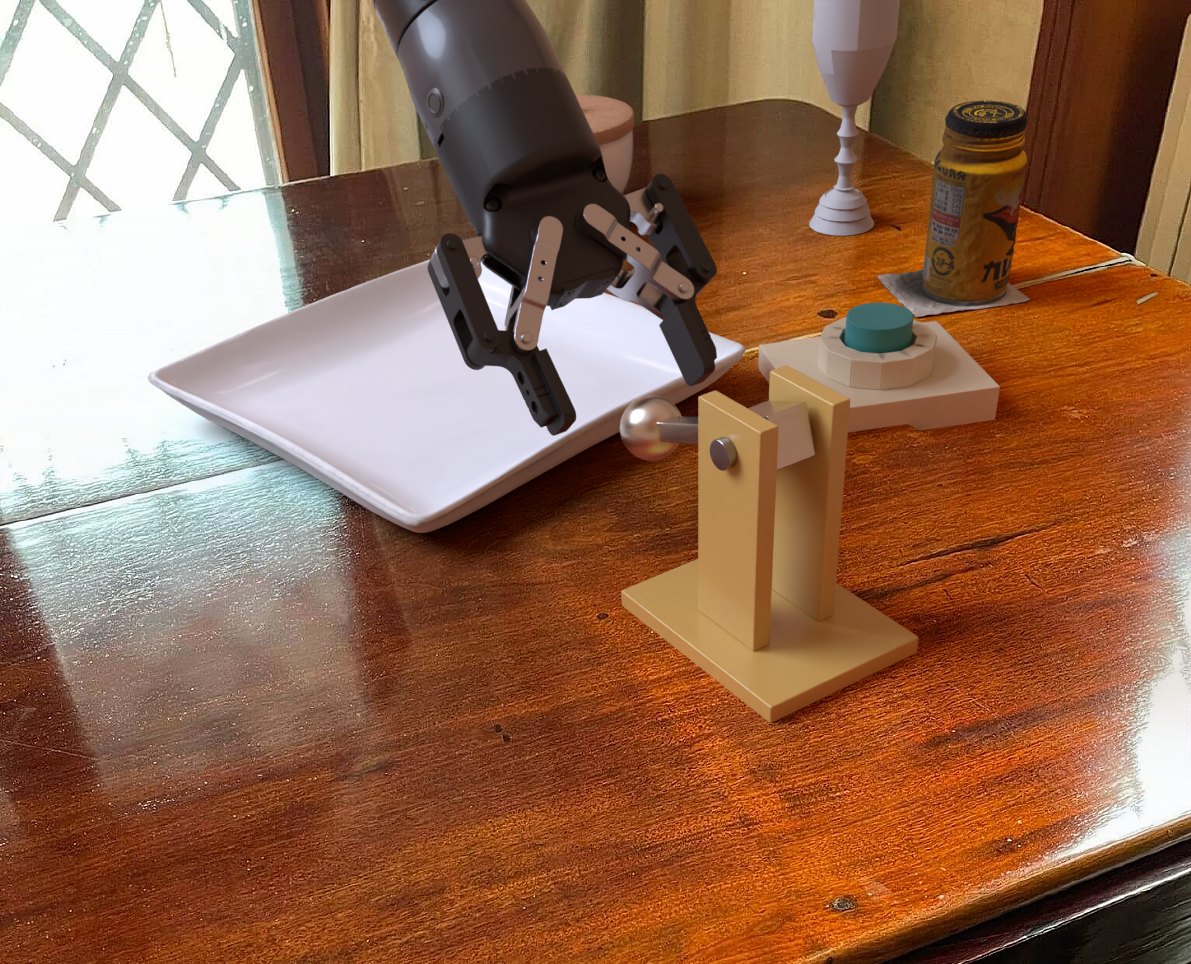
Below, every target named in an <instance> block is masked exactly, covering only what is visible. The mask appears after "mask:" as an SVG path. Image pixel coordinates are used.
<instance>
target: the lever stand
mask: <svg viewBox="0 0 1191 964" xmlns="http://www.w3.org/2000/svg"><path fill="white" fill-rule="evenodd" d="M768 385H769V387H768V388H769V389H768V401H790V402H806V403H807V409H808V415H809V421H810V426H811V432H812V438H813V444H814V449H815V456H812V457H810V458H807V459H805V460H802V461H800V462H797V463H795V464H792V465H790V466H787V467H785V468H782V469H780V470H777V452H778V429H779V427H778V426H777V425H775V424H774V423H772V422H770V421H768V420H767V419H765V418H763V417H761V416H760V415H758V414H756V413H755V412H753V411H751V410H749V409H748V408H749V407H748V408H747V407H746V406H744V405H743V404H741V403H740V402H737V401H736V400H733V399H732V398H730V397H728V396H727V395H725V394H723V393H721V392H720V391H718V390H712V391H709V392H707V393H704V394H701V395H699V396H698V398H697V400H698V403H697V404H698V405H697V406H698V409H697V410H698V416H697V417H698V444H697V445H698V450H697V452H698V453H697V456H698V457H697V459H698V460H697V463H698V465H697V469H698V470H697V472H698V473H697V475H698V476H697V479H698V480H697V482H698V483H697V488H698V489H697V534H698V535H697V549H698V550H697V552H698V553H697V554H698V555H697V557H698V558H696V559H694V560H692V561H689V562H687V563H685V564H682V565H680V566H678V567H675V568H672V569H670V570H668V571H665V572H663V573H660V574H657V575H655V576H652V577H651V578H648V579H646V580H643V581H640V582H639V583H636V584H633V585H632V586H629V587H626V588H624V589H622V590H621V591H620V596H621V597H620V598H621V606H622V607H623V608H624V609H626V610H627V612H629V613H630V614H632V615H633V616H634V617H636V618H637V619H638V620H639V621H641V622H642V623H643V624H644V625H646V626H647V627H648V628H649V629H651V630H652V631H653V632H655V633H656V634H657V635H658V636H660V637H661V638H662V639H663V640H665V641H666V642H667V643H669V645H671V646H672V647H673V648H675V649H676V650H677V651H678V652H680V653H681V654H683V656H685V657H686V658H687V659H689V660H690V661H691V662H693V663H694V664H695V665H696V666H697V667H699V668H700V669H701V670H702V671H704V672H705V673H706V674H708V675H709V676H710V677H711V678H713V679H714V680H715V681H716V682H718V683H719V685H722V686H723V687H724V688H725V689H727V690H728V691H729V692H730V693H732V694H733V695H734V696H735V697H737V698H738V699H739V700H740V701H742V702H743V703H744V704H745V705H747V706H748V707H749V708H751V710H753V711H754V712H756V713H757V714H758V715H759V716H761V717H762V718H763V719H765V720H766V721H767V722H768V723H770V724H772V723H774V722H776V721H778V720H780V719H782V718H784V717H786V716H788V715H790V714H793V713H795V712H797V711H798V710H801V709H803V708H805V707H807V706H809V705H811V704H814V703H815V702H817V701H819V700H821V699H824V698H826V697H828V696H829V695H832V694H834V693H836V692H838V691H840V690H842V689H844V688H846V687H848V686H851V685H852V684H855V683H857V682H859V681H862V680H863V679H865V678H867V677H870V676H871V675H873V674H875V673H877V672H879V671H882V670H883V669H886V668H888V667H890V666H892V665H894V664H896V663H898V662H900V661H902V660H904V659H906V658H909V657H911V656H913V655H914V654H917V653H918V646H919V636H918V635H916V634H914V633H913V632H912V631H911V630H909V629H907V628H906V627H904V626H902V625H901V624H899V623H898V622H896V621H895V620H893V619H892V618H890V617H889V616H887V615H886V614H885V613H883V612H881V611H880V610H878V609H877V608H875V607H874V606H872V605H871V604H869V603H868V602H866V601H865V600H863V599H862V598H860V597H859V596H857V595H856V594H854V593H853V592H851V591H850V590H848V589H847V588H845V587H844V586H842V585H840V584H839V583H838V582H837V575H838V563H839V551H840V537H841V524H842V514H843V512H842V511H843V501H844V489H845V487H844V486H845V476H846V475H845V474H846V463H847V462H846V461H847V448H848V436H849V432H848V425H849V412H850V399H849V398H848V397H846V396H844V395H842V394H840V393H838V392H836V391H834V390H832V389H831V388H829V387H827V386H825V385H823V384H821V383H819V382H817V381H815V380H813V379H812V378H810V377H808V376H806V375H804V374H802V373H800V372H798V371H796V370H795V369H793V368H791V367H789V366H786V365H785V366H782V367H780V368H777V369H774V370H771V371H770V383H768Z"/></svg>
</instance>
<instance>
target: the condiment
mask: <svg viewBox="0 0 1191 964" xmlns="http://www.w3.org/2000/svg"><path fill="white" fill-rule="evenodd" d="M944 121H945V123H944V126H945V127H944V131H943V134H942V138H941V143H942V144H943V145H942V147H941V149H940V150H938V152H937V154H936V156H935V159H934V165H933V175H932V182H931V184H932V185H931V194H930V203H929V211H928V221H927V229H926V237H925V238H926V240H925V246H924V247H925V248H924V257H923V266H922V268H923V269H918V270H914V271H908V272H907V271H906V272H903V273H900V272H899V273H886V274H879V275H876V277H877V278H878V279H879V281H880V283H881V284H882V285H883V286H884V287H885V288H886V289H887V290H888V291H889V293H890V294H891V295H893V296H894V297H895V299H897V302H898V303H899V304H902V305H903V307H905V308H907V309H908V310H910V311H911V312H912V314H913V316H915V317H916V318H919V317H925V316H928V315H930V316H931V315H940V314H942V313H951V312H952V313H953V312H957V311H965V310H979V309H987V308H993V307H999V306H1008V305H1011V304H1015V305H1016V304H1020V303H1024V302H1028V301H1029V300H1031V298H1029V297H1028V296H1027V295H1026V294H1025V293H1022V292H1021V291H1020V290H1019V289H1017V288H1016V287H1014V285H1012V284H1011V283H1010V276H1011V269H1012V267H1013V265H1012V264H1013V258H1014V255H1015V245H1016V239H1017V230H1018V223H1019V216H1020V210H1021V204H1022V196H1023V190H1024V185H1025V184H1024V183H1025V178H1026V172H1027V165H1028V164H1027V163H1028V156H1027V153H1026V152H1025V150H1024V149H1023V147H1024V145H1025V143H1026V137H1025V134H1026V129H1027V124H1028V122H1029V120H1028V114H1027V111H1026V110H1025V109H1024V108H1023V107H1022V106H1019V105H1018V104H1014V103H1011V102H1007V101H999V100H998V101H997V100H973V101H972V100H971V101H965V102H962V103H961V102H960V103H959V104H956V105H954V106H953V107H952V108H950V109H949V111H948V113H947V114H946V116H945V118H944Z"/></svg>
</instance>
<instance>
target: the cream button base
mask: <svg viewBox="0 0 1191 964" xmlns="http://www.w3.org/2000/svg"><path fill="white" fill-rule="evenodd" d="M845 327H846V316H844V317H842V318H840V319H838V320H835V321H833V322H831V323H829V324H827V325H825V326H824V327H823V330H822V332H821V334H820V336H815V337H807V338H800V339H793V340H785V341H777V342H770V343H762V344H759V345H758V364H757V365H758V367H757V368H758V370H759V371H760V373H761V374H762V376H763V378H764V379H765V380H766V382H767V383H768V384H769V383H770V371H771V370H774V369H777V368H780V367H782V366H785V365H786V366H789V367H791V368H793V369H795V370H796V371H798V372H800V373H802V374H804V375H806V376H808V377H810V378H812V379H813V380H815V381H817V382H819V383H821V384H823V385H825V386H827V387H829V388H831V389H832V390H834V391H836V392H838V393H840V394H842V395H844V396H846V397H848V398H849V399H850V412H849V425H848V433H853V432H860V431H861V432H862V431H867V430H868V431H869V430H875V429H881V428H889V427H890V428H891V427H895V426H896V427H897V426H903V425H908V426H910V427H912V428H913V429H915V430H918V431H920V432H921V431H928V430H935V429H942V428H949V427H956V426H962V425H969V424H976V423H983V422H990V421H995V420H996V415H997V408H998V404H999V403H998V402H999V396H1000V390H1001V386H1000V385H999V384H998V383H997V381H995V379H993V378H992V377H991V376H990V375H989V374H988V373H987V371H986V370H985V369H984V368H983V367H982V366H981V365H980V364H979V363H978V362H977V361H976V360H975V359H974V357H972V356H971V354H969V353H968V352H967V350H965V349H964V348H963V346H962V345H960V344H959V342H958V341H957V340H956V339H955V338H954V337H953V335H951V334H950V333H949V332H948V331H947V330H946V329H945V328H944V327H943V325H941V324H940V323H939V322H938V321H937V320H933V321H924V322H922V321H918V320H916V319H913V328H912V337H911V345H910V347H908V348H906V349H904V350H902V351H897V352H890V353H883V354H878V353H867V352H860V351H857V350H855V349H852V348H849V347H847V346H845Z"/></svg>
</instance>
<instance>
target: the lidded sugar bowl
mask: <svg viewBox="0 0 1191 964" xmlns="http://www.w3.org/2000/svg"><path fill="white" fill-rule="evenodd" d="M575 95H576V97H577V100H578V102H579V104H580V106H581V108H582V110H583V113H584V115H585V117H586V119H587V121H588V123H589V125H590V128H591V130H592V132H593V134H594V136H595V138H596V140H597V143H598V145H599V147H600V149H601V153H602V157H603V162H604V167H605V171H606V175H607V177H608V179H609V181H610V182H611V183H612V185H613V186H614V187H615V188H616V189H617V190H618V191H619V192H621V193H622V194H623V195H624V192H625V190H626V189H627V185H628V183H629V180H630V176H631V172H632V166H633V156H634V127H635V114H634V113H635V112H634V109H633V108H632V106H630V105H629V104H628V103H626V102H624V101H622V100H619V99H616V98H612V97H609V96H602V95H593V94H575Z"/></svg>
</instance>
